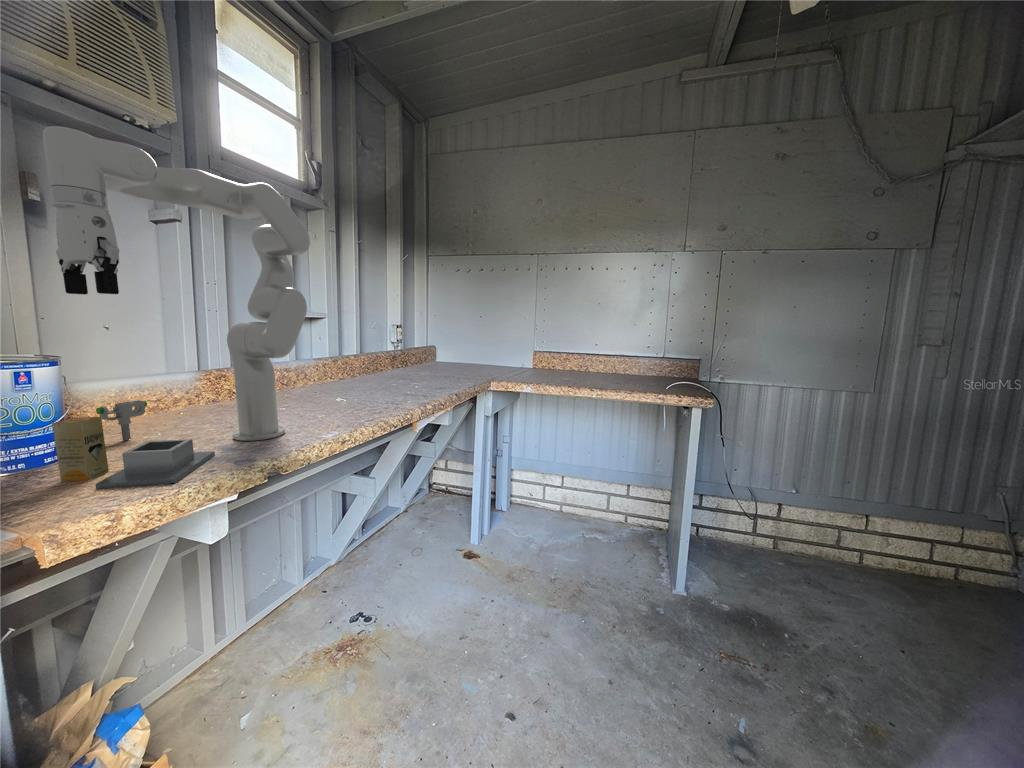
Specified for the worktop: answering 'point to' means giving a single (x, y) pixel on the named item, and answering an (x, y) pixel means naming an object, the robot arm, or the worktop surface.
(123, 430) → the mechanical component
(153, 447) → the holder
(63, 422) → the shoe polish box
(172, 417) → the worktop surface
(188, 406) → the worktop surface
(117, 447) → the worktop surface
